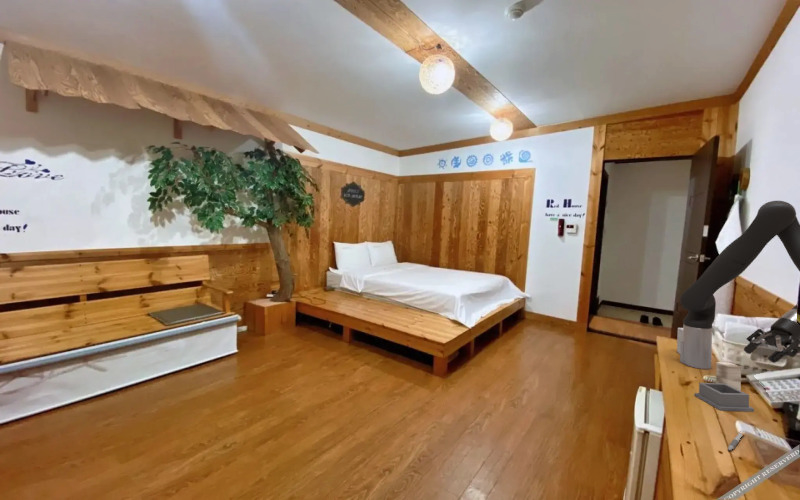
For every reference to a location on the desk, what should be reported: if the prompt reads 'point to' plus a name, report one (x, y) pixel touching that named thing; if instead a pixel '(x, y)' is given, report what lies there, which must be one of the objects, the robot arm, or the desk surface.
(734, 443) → the pen
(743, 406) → the pocket stand
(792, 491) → the desk surface
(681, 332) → the skincare box
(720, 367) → the cream block
